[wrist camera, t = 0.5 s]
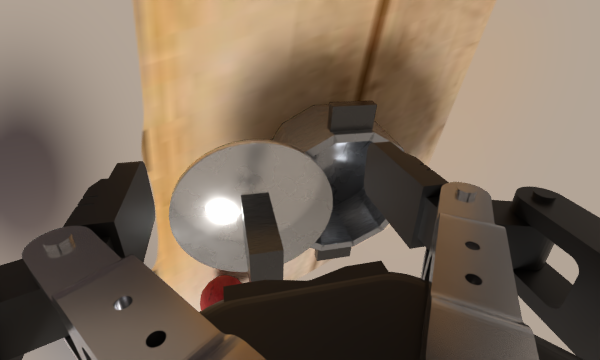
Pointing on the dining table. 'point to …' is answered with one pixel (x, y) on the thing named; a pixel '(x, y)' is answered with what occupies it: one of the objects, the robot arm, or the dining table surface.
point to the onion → (216, 290)
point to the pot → (340, 168)
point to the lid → (250, 207)
